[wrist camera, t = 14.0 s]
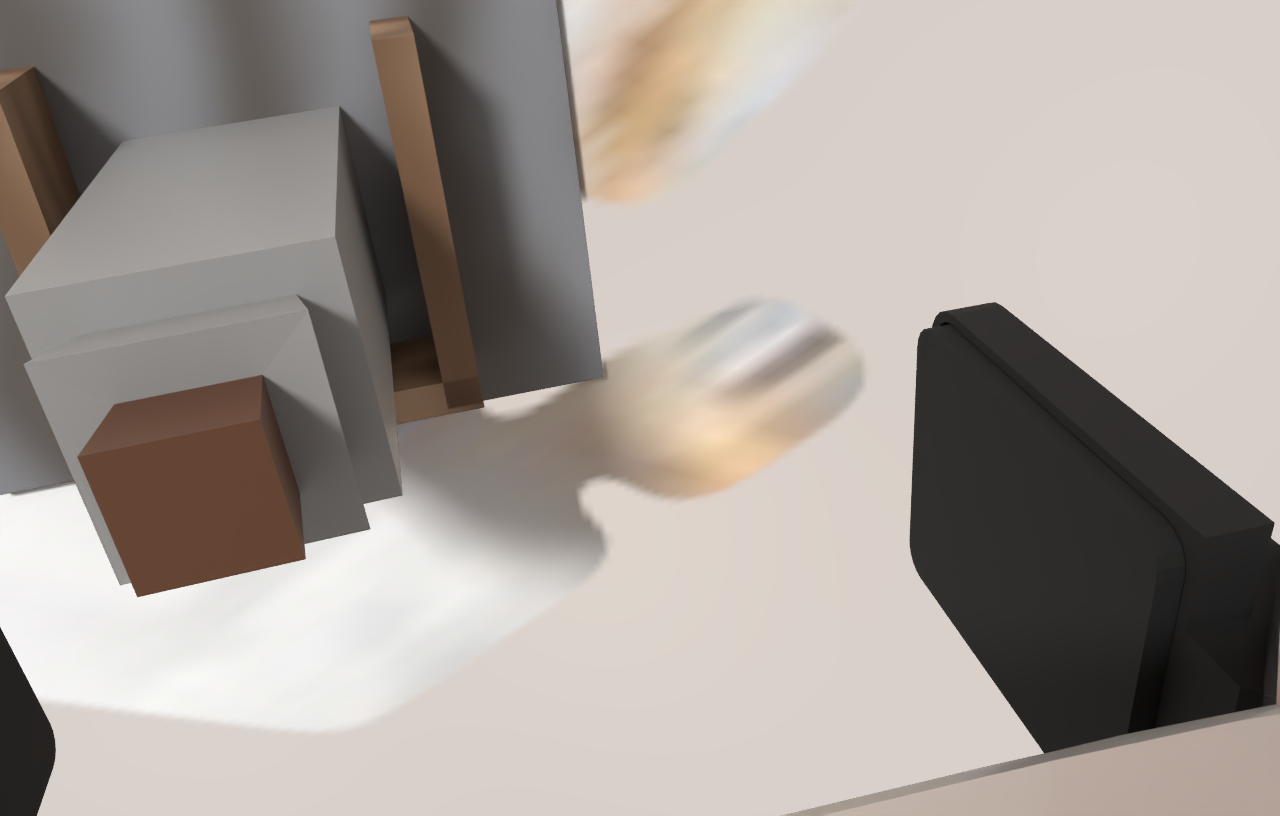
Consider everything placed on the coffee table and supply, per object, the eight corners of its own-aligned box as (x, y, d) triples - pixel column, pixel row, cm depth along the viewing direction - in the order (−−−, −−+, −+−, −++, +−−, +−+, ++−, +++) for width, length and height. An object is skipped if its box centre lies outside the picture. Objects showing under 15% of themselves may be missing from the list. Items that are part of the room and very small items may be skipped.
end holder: (544, -73, 34) (569, -62, 30) (601, 372, 42) (626, 425, 38) (-211, 22, 31) (-290, 47, 27) (2, 489, 38) (-36, 559, 35)
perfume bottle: (190, 334, 37) (76, 686, 22) (122, 141, 34) (-69, 392, 18) (385, 296, 38) (411, 606, 23) (339, 105, 35) (332, 315, 19)
